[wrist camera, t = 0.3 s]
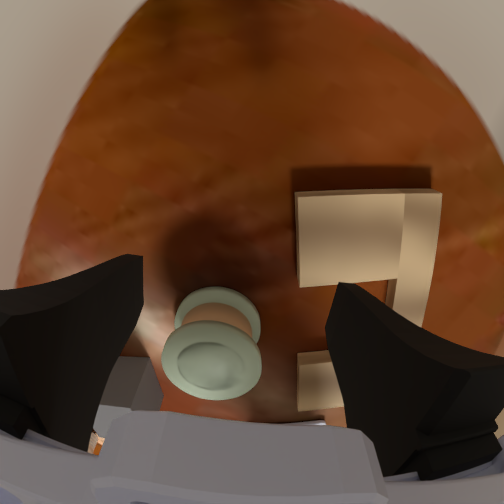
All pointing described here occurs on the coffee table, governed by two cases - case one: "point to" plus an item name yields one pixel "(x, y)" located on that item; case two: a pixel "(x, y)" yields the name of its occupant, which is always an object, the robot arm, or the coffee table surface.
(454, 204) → the coffee table surface
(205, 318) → the bobbin
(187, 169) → the coffee table surface
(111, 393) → the block
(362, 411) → the robot arm
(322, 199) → the notched board
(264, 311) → the coffee table surface
